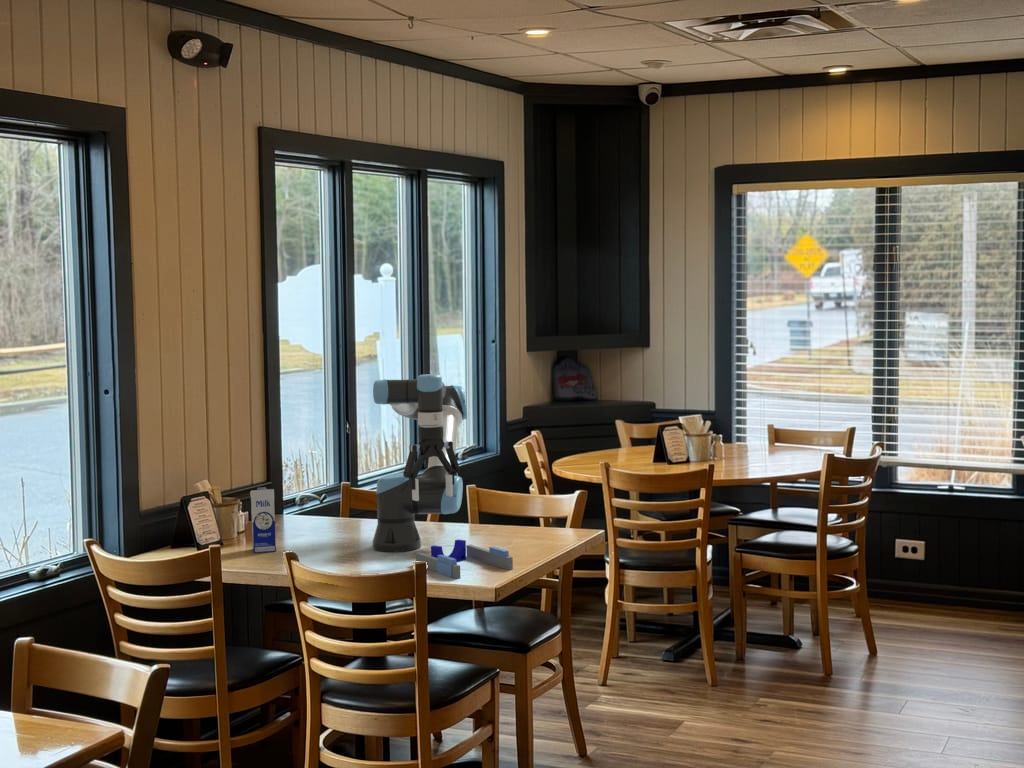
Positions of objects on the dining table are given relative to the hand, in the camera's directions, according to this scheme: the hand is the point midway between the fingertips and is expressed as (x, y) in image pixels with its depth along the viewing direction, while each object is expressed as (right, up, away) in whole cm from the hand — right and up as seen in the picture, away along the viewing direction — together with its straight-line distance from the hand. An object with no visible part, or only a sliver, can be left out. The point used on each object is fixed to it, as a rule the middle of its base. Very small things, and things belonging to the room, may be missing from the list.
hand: (432, 498), depth 361 cm
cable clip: (+6, -19, -7) cm, 21 cm away
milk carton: (-54, -18, +17) cm, 60 cm away
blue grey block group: (+10, -19, -13) cm, 25 cm away
